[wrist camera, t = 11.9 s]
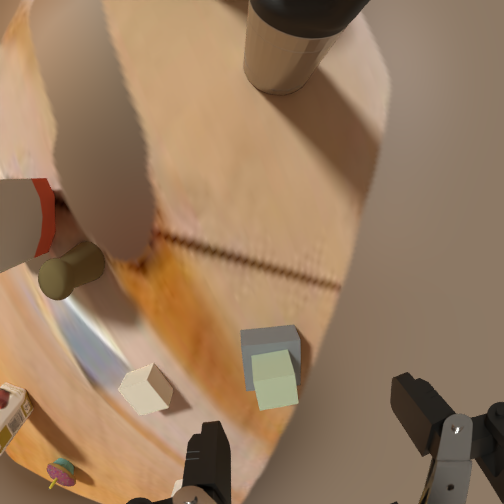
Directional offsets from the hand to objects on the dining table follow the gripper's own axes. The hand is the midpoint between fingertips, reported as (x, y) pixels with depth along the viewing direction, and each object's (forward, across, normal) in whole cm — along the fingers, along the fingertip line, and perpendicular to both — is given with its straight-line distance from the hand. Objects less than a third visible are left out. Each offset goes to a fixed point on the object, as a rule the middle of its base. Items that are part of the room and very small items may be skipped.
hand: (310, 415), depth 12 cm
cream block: (+30, +22, +17) cm, 41 cm away
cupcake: (+30, +60, +44) cm, 80 cm away
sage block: (+25, +1, +14) cm, 29 cm away
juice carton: (+30, +59, +20) cm, 69 cm away
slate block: (+30, +1, +15) cm, 34 cm away
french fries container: (+30, +31, -14) cm, 46 cm away
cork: (+30, +25, -5) cm, 40 cm away
